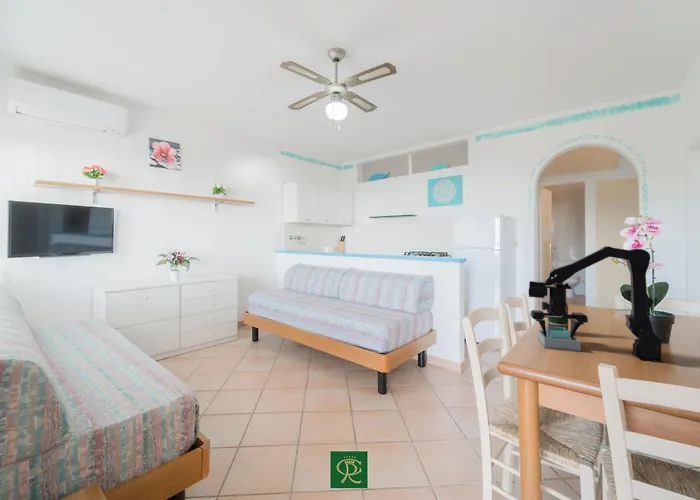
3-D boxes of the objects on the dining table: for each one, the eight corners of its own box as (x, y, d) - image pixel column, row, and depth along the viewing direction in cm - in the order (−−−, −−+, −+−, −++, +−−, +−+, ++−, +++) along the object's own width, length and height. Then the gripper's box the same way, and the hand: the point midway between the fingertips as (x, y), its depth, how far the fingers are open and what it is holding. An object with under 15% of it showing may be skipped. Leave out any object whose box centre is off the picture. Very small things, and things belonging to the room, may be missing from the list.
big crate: (570, 342, 126) (570, 332, 126) (580, 351, 115) (580, 341, 115) (537, 339, 131) (537, 330, 131) (544, 348, 120) (544, 338, 119)
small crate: (564, 341, 125) (564, 327, 125) (569, 346, 119) (569, 331, 119) (546, 340, 127) (546, 326, 127) (550, 344, 121) (550, 330, 121)
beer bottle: (544, 331, 142) (544, 281, 142) (556, 329, 145) (556, 280, 144) (560, 336, 135) (559, 283, 134) (572, 334, 137) (572, 282, 137)
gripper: (578, 296, 127) (578, 333, 127) (527, 294, 133) (528, 329, 134) (588, 301, 116) (588, 341, 117) (533, 299, 123) (533, 336, 123)
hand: (557, 336), depth 123 cm, fingers open, 9 cm apart
